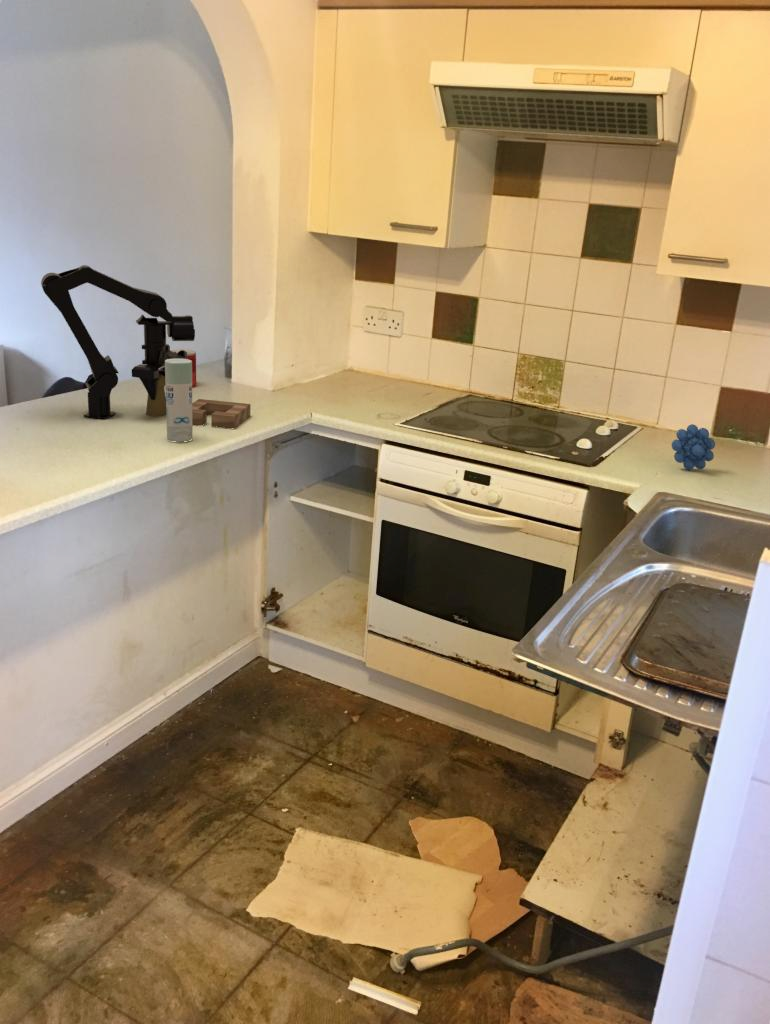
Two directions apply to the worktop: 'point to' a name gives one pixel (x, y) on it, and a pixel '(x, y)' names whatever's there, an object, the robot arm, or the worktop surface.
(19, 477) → the worktop surface
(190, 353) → the canned food
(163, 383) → the cork
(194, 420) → the socket block
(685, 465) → the blue knobbed flower
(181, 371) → the spray paint can
